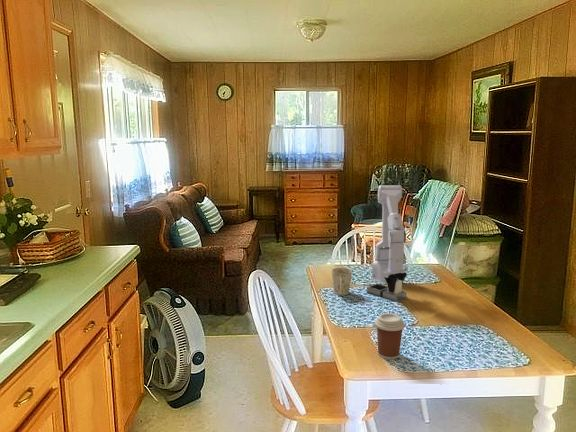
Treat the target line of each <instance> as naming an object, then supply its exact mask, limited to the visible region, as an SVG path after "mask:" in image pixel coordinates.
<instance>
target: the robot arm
mask: <svg viewBox="0 0 576 432" xmlns="http://www.w3.org/2000/svg"><path fill="white" fill-rule="evenodd" d="M402 198H403V187H402V185H399V184H398V185H395V184H394V185H392V184H391V185H389V184H388V185H387V184H385V185H382V184H380V185H378V187H377V203H378V204H381V207H382V213H381V215H382V217H381V220H382V222H381V240H380V241H377V243H376V244H375V249H374V259H375V260H374V261H373V263H372V267H371V269H372V270H371V271H372V272H371V278H370V281H375V282H379V283H383V284H386V286H388V290H389V292H391V293H394V291H395V284H396V281H397V279H398V280H401V281H402V285H403V283H404V280H405V279H406V277H407V275H408V273H407V271H408V269H409V266H408V265H405V264H404V255H405V254H404V250H405V244H406V241H407V232H406V229H405V227H404V224H403V217H402V215H401V214H399V203H400V202H401V199H402Z"/></svg>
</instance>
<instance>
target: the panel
mask: <svg viewBox="0 0 576 432" xmlns="http://www.w3.org/2000/svg"><path fill="white" fill-rule="evenodd" d="M365 294H368V295H371V296H375V297H378V298H381V299H384V300H387V301H391V302H394V303H398V302H399V301H402V300H405V299H406V298H408V296H407V295H408V294H407V291H405V290H402V293H400V294H398V295H395V294H391V293H388V285H384V284H380V283H374V284H371V285H369V286H367V287H366V292H365Z"/></svg>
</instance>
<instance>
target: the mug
mask: <svg viewBox="0 0 576 432" xmlns="http://www.w3.org/2000/svg"><path fill="white" fill-rule="evenodd" d="M352 271H353V270H352V269H350V268H348V267H347V268H346V267H335V268H333V269H332V270H331V276H332V285H333V293H334V294H335V295H340V296H345V295H349V292H350V288H351V281H352V274H353V272H352Z"/></svg>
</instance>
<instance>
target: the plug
mask: <svg viewBox="0 0 576 432" xmlns="http://www.w3.org/2000/svg"><path fill="white" fill-rule="evenodd" d="M402 291H403V284H402V281H401V280H398V279H397V281H396V284H395V291H394V293H391V292H389V290H388V293H391V294H395V295H398V294H400V293H402Z"/></svg>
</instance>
